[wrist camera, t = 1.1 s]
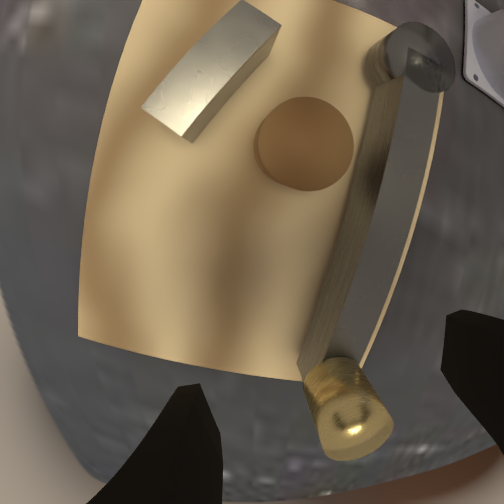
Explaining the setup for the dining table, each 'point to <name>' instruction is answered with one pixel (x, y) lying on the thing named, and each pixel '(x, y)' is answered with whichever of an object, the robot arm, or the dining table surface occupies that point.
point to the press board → (221, 196)
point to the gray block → (213, 70)
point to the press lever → (373, 239)
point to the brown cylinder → (304, 144)
